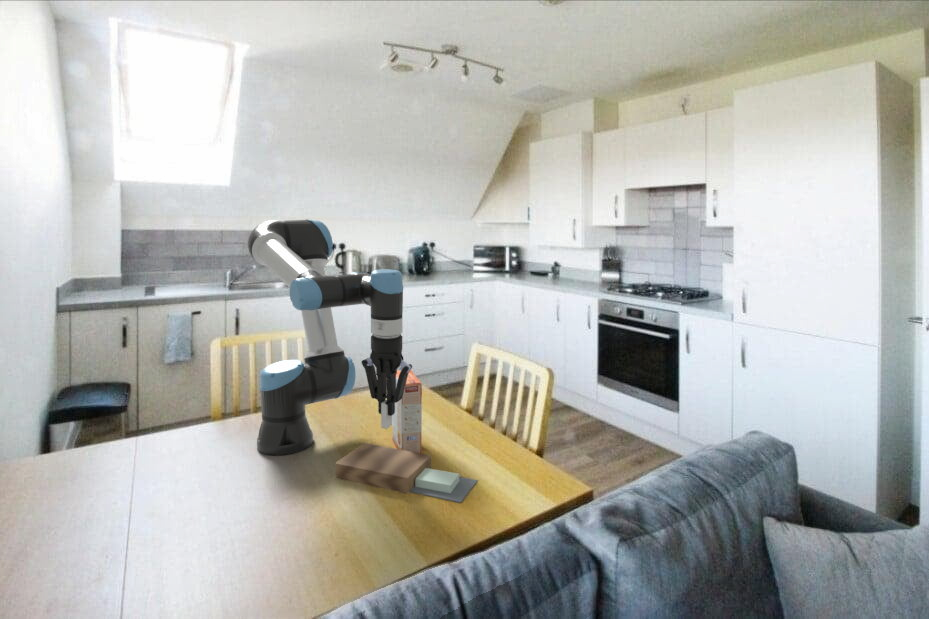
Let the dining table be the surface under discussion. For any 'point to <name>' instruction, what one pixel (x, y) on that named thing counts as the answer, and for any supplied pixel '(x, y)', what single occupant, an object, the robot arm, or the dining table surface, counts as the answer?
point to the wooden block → (382, 467)
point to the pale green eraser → (437, 480)
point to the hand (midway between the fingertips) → (386, 426)
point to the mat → (455, 495)
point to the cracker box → (408, 416)
